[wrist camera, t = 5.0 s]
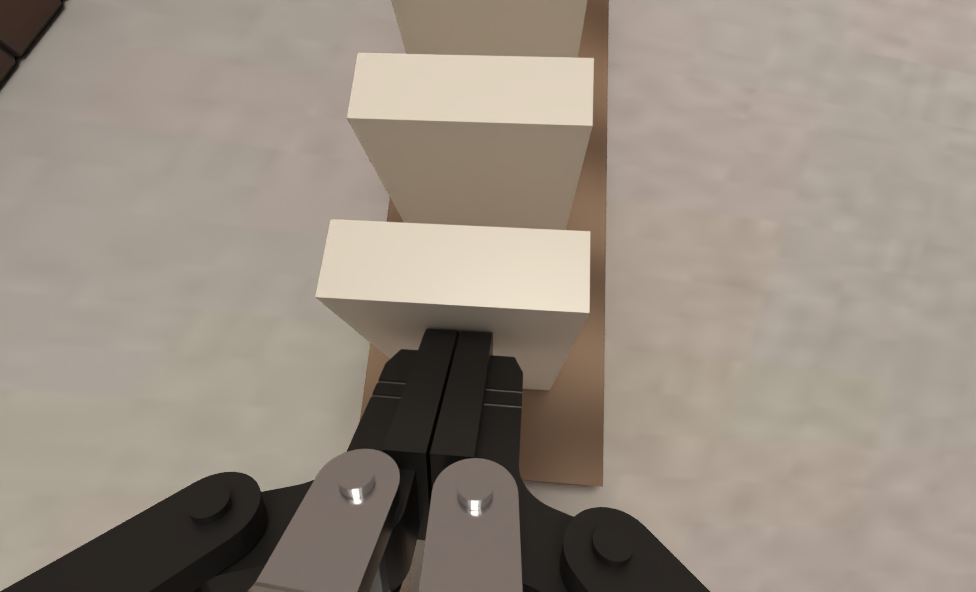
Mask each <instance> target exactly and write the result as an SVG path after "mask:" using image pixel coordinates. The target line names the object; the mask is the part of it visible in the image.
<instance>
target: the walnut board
mask: <svg viewBox="0 0 976 592" xmlns="http://www.w3.org/2000/svg"><path fill="white" fill-rule="evenodd" d="M608 9H609V0H587V6H586V12H585V18H584V24H583V30H582V35H581V41H580V47H579V53H578V58H594V79H593V126H592V130H591V134H590V138H589V141H588V145H587V149H586V153H585V157H584V161H583V165H582V169H581V172H580V176H579V180H578V184H577V188H576V192H575V196H574V200H573V203H572V207H571V211H570V215H569V219H568V223H567V227H566V230H573V231H590V313H589V315H588V317H587V319H586V321H585V323H584V325H583V327H582V329H581V330H580V332H579V334H578V336H577V338H576V340H575V342H574V344H573V346H572V348H571V350H570V352H569V354H568V356H567V358H566V360H565V362H564V364H563V365H562V367H561V369H560V371H559V373H558V375H557V377H556V379H555V381H554V383H553V385H552V387H551V389H550V391H549V390H535V389H522V411H521V433H520V455H519V471H520V476H521V479H522V480H529V481H541V482H553V483H566V484H578V485H590V486H602V487H603V424H604V341H605V258H606V175H607V92H608ZM387 222H400V223H404V222H403V220H402V218H401V216H400V214H399V213H398V211H397V209H396V207H395V205H394V203H393V202H392V200H391V198H390V202H389V209H388V217H387ZM388 360H389V358H388V357H387V356H386V355H384V354H383V353H382V352H381V351H380V350H378V349H377V348H376V347H375V346H374V345H372V344H371V343H370V350H369V358H368V365H367V373H366V380H365V387H364V395H363V402H362V410H361V417H360V420H361V418H362V416H363V414H364V411H365V409H366V407H367V404H368V402H369V400H370V398H371V397H372V393H373V391H374V388H375V386H376V384H377V383H378V379H379V377H380V375H381V372H382V370H383V368H384V366H385V363H386V362H387V361H388Z"/></svg>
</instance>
